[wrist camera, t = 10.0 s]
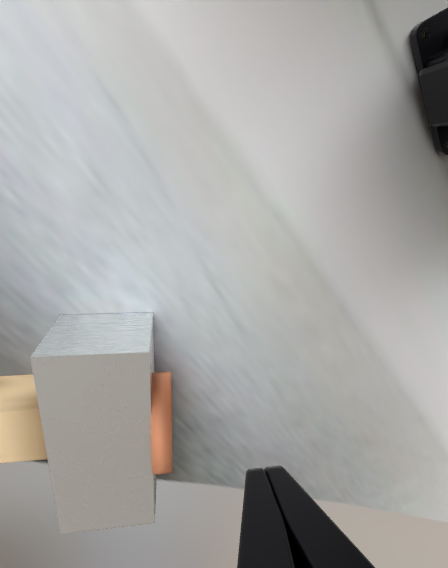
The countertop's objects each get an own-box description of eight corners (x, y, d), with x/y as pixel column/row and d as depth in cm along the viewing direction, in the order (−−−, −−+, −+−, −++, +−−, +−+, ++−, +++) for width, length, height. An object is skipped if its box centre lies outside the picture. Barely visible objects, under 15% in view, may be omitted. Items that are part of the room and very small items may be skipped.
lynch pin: (170, 353, 21) (172, 414, 16) (171, 421, 22) (172, 496, 17) (-10, 360, 19) (-72, 431, 14) (6, 434, 21) (-45, 520, 16)
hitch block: (152, 312, 19) (149, 352, 15) (157, 460, 23) (154, 522, 19) (59, 314, 19) (30, 356, 15) (79, 467, 22) (60, 534, 18)
